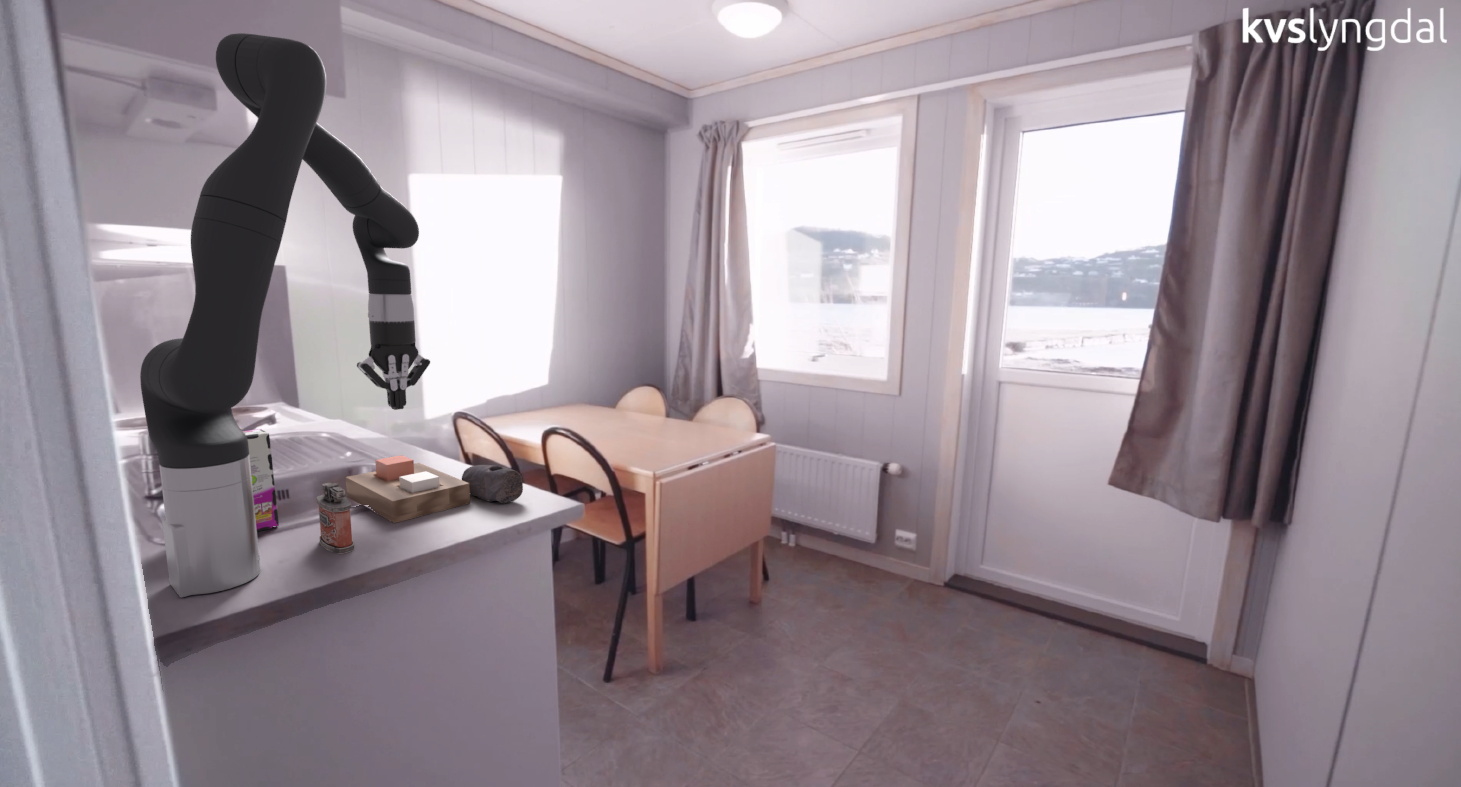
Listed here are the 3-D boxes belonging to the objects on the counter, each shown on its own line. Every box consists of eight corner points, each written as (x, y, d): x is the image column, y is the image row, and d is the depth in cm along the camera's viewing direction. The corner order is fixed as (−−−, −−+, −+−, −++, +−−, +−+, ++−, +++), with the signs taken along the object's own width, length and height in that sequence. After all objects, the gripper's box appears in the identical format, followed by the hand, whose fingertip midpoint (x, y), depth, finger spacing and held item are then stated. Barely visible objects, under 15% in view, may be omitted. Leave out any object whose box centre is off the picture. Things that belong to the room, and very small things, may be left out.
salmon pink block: (387, 485, 117) (386, 465, 117) (376, 479, 120) (375, 459, 120) (414, 479, 121) (413, 460, 121) (402, 474, 124) (401, 455, 124)
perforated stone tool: (453, 495, 122) (451, 461, 121) (475, 488, 127) (474, 455, 126) (503, 510, 115) (503, 475, 114) (526, 502, 119) (525, 468, 118)
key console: (394, 523, 107) (392, 501, 106) (347, 496, 119) (345, 476, 118) (470, 503, 118) (469, 483, 117) (419, 481, 130) (419, 462, 129)
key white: (413, 503, 112) (411, 482, 111) (400, 497, 115) (399, 476, 114) (440, 497, 115) (439, 476, 115) (427, 491, 118) (426, 471, 118)
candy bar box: (269, 520, 106) (261, 427, 104) (279, 527, 103) (271, 432, 101) (185, 539, 97) (173, 438, 95) (194, 547, 95) (182, 444, 92)
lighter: (314, 541, 98) (310, 481, 97) (338, 535, 101) (333, 477, 99) (335, 556, 93) (330, 493, 92) (359, 549, 96) (355, 488, 95)
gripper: (361, 320, 108) (368, 416, 111) (436, 319, 118) (441, 407, 121) (345, 318, 112) (352, 410, 115) (418, 316, 123) (423, 401, 126)
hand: (397, 408), depth 118 cm, fingers closed
